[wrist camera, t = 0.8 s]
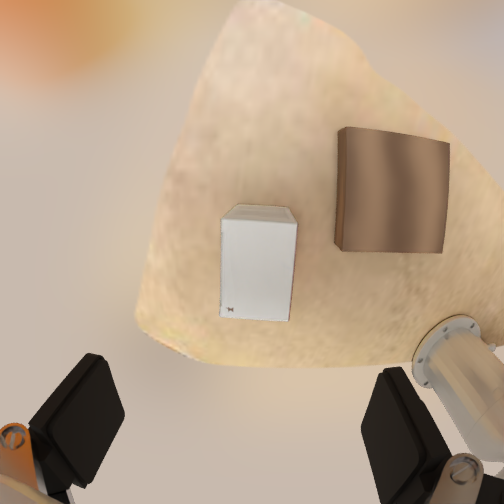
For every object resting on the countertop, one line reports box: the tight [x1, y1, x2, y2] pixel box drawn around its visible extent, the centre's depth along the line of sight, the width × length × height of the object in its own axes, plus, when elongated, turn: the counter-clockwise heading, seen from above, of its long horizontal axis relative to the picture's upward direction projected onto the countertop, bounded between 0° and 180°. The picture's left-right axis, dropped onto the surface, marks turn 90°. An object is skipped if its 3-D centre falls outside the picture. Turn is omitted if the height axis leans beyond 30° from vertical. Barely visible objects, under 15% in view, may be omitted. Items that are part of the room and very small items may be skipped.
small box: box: [219, 204, 298, 321], centre depth 26 cm, size 8×6×10 cm
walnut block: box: [334, 127, 450, 253], centre depth 28 cm, size 12×12×4 cm
